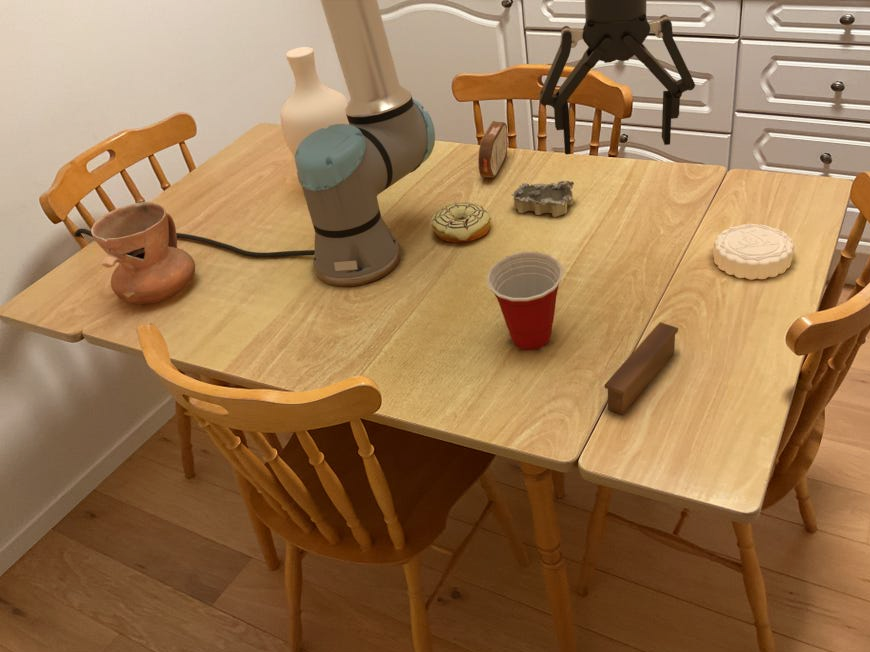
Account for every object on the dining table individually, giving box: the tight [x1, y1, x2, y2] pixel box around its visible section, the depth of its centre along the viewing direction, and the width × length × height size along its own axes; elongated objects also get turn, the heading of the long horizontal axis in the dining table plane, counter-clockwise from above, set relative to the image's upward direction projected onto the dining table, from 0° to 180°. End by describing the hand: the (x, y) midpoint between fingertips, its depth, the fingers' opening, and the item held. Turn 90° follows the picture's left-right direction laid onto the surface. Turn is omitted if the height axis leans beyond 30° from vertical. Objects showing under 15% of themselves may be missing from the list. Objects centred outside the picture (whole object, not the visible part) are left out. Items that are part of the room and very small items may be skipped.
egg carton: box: [511, 180, 575, 218], centre depth 144 cm, size 11×8×4 cm
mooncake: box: [712, 223, 795, 281], centre depth 123 cm, size 12×12×4 cm
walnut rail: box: [604, 321, 679, 416], centre depth 104 cm, size 3×15×4 cm, turn 142°
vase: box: [279, 46, 349, 159], centre depth 154 cm, size 14×14×28 cm
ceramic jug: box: [90, 201, 196, 305], centre depth 135 cm, size 18×14×14 cm
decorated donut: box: [430, 201, 492, 243], centre depth 141 cm, size 10×11×4 cm
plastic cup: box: [485, 251, 564, 351], centre depth 111 cm, size 11×11×12 cm
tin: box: [478, 120, 509, 179], centre depth 157 cm, size 15×3×8 cm, turn 164°
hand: (616, 145), depth 108 cm, fingers open, 13 cm apart
